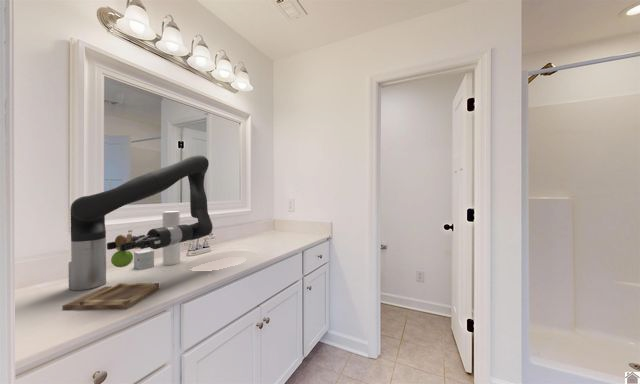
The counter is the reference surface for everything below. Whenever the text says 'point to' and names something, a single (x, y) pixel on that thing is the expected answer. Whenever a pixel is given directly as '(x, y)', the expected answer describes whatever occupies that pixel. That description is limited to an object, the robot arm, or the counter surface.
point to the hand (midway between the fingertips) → (114, 247)
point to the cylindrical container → (173, 252)
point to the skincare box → (143, 259)
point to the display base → (114, 296)
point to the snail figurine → (122, 252)
